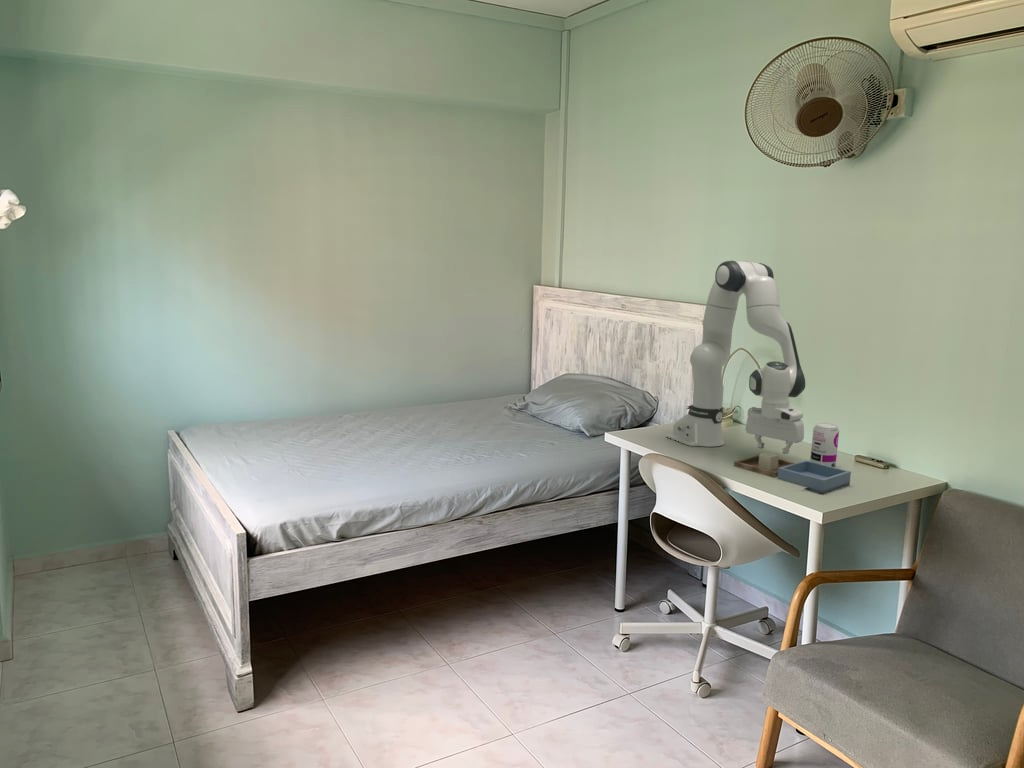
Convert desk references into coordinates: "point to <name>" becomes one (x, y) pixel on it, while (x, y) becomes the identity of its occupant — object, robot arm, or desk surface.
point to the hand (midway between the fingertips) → (772, 450)
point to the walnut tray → (753, 466)
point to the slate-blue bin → (815, 476)
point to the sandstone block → (768, 461)
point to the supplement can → (825, 444)
